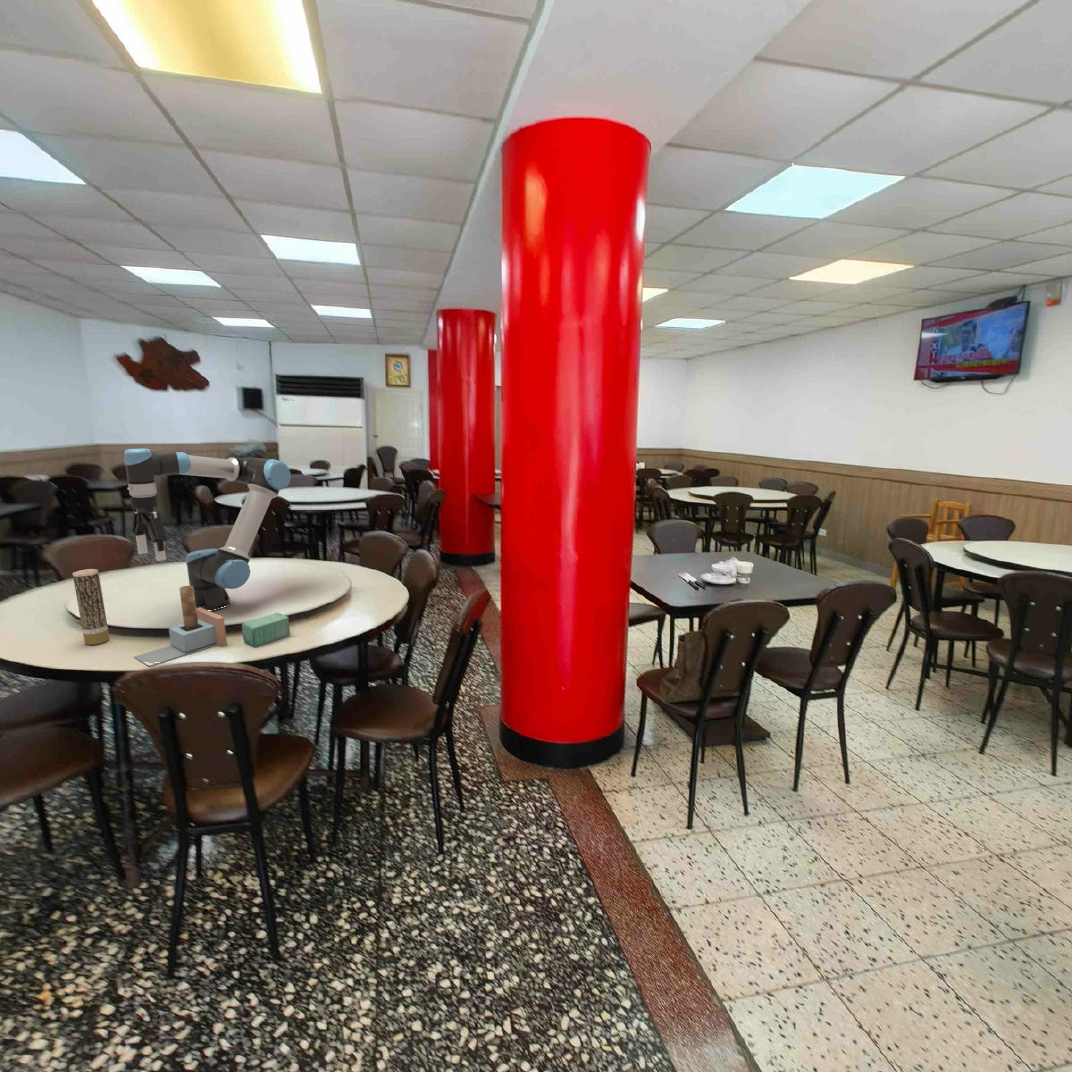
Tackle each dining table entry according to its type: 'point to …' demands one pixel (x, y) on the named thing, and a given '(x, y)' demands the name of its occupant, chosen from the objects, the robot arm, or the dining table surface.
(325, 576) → the dining table surface
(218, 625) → the wall
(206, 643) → the socket block
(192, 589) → the dowel
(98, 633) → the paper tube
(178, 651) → the mat
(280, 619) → the box
